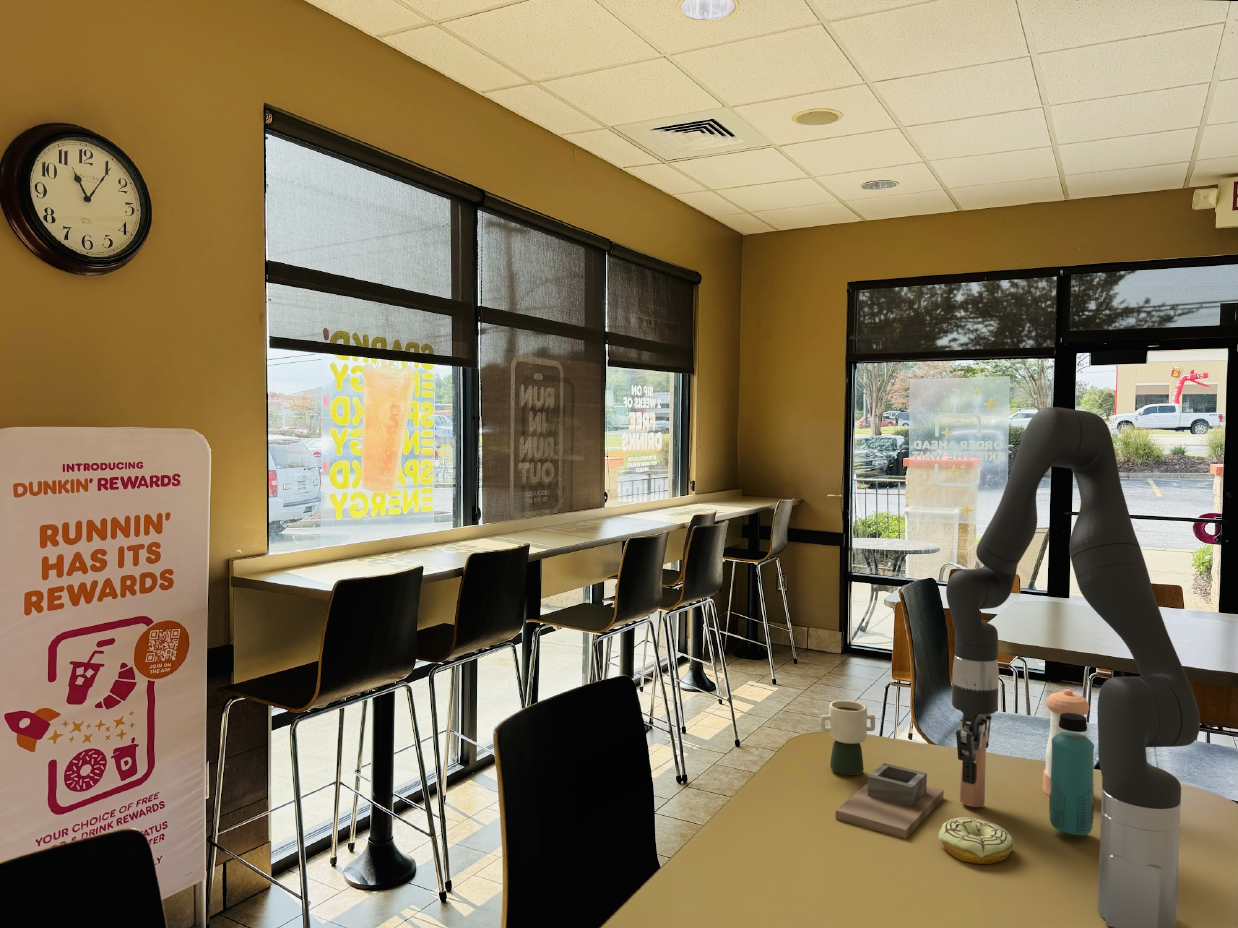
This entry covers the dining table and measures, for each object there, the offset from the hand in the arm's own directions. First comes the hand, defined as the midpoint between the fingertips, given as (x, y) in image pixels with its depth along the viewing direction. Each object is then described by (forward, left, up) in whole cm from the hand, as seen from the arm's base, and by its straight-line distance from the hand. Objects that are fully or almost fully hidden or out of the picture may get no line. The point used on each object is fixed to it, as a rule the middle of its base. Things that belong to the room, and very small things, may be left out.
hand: (972, 777), depth 157 cm
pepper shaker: (+16, -12, -5) cm, 21 cm away
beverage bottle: (-2, -16, -5) cm, 17 cm away
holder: (-10, +11, -5) cm, 16 cm away
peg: (0, 0, -4) cm, 4 cm away
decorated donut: (-17, -5, -5) cm, 18 cm away
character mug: (+1, +24, -5) cm, 24 cm away
